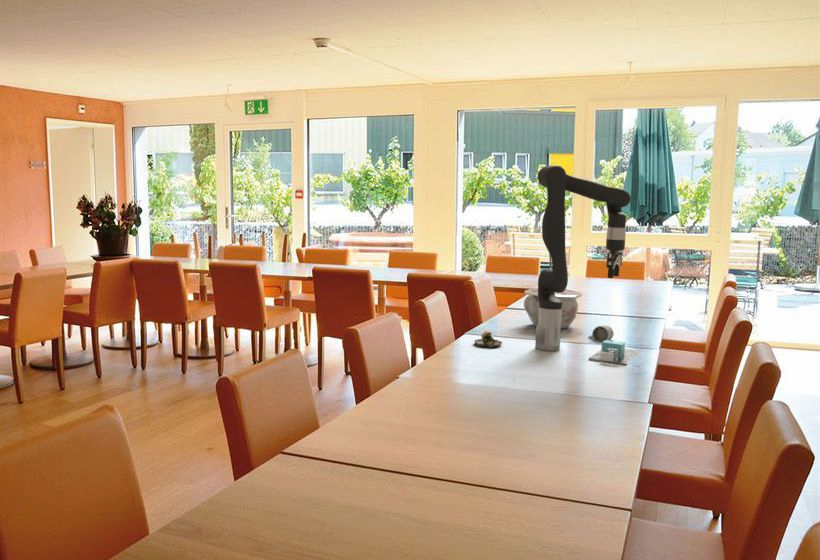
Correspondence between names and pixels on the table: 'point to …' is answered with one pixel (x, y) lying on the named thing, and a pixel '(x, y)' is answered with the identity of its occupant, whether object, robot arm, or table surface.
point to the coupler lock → (614, 347)
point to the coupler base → (613, 356)
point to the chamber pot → (565, 297)
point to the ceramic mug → (602, 333)
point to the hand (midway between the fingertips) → (613, 277)
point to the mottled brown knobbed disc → (487, 340)
